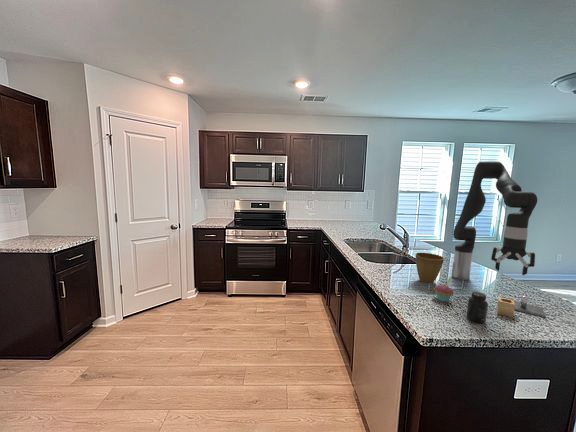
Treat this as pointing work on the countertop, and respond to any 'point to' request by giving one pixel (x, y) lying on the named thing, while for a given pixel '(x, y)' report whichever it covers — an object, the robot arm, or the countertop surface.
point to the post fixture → (528, 307)
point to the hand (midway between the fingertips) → (510, 272)
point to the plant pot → (428, 266)
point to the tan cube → (505, 307)
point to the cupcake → (444, 292)
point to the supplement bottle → (477, 308)
